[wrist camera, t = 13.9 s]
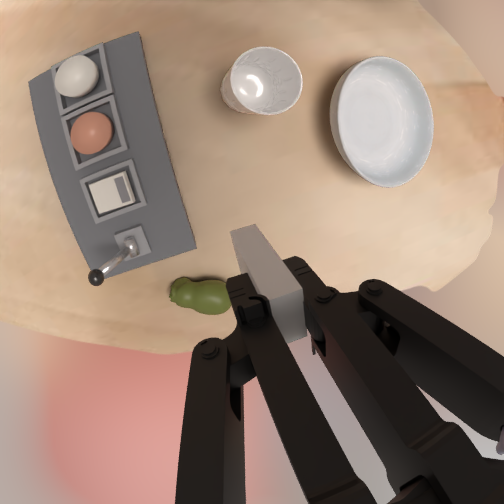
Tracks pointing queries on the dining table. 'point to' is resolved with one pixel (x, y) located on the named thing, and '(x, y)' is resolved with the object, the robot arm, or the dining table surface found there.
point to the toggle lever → (114, 261)
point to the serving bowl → (382, 121)
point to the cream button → (76, 76)
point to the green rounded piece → (201, 295)
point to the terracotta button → (92, 132)
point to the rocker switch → (112, 192)
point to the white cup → (262, 82)
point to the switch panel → (114, 160)
